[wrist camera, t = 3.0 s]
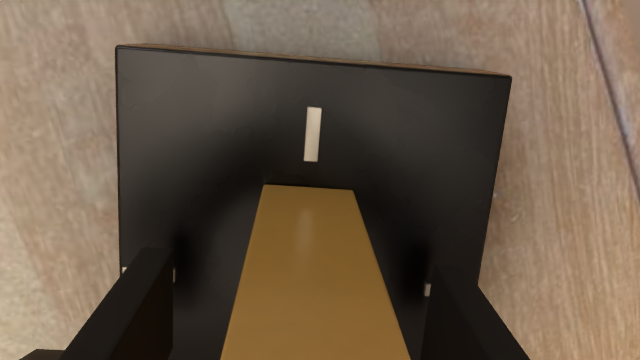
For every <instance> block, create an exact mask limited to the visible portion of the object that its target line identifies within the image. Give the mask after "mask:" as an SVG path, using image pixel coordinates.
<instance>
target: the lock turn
mask: <svg viewBox="0 0 640 360" xmlns="http://www.w3.org/2000/svg"><path fill="white" fill-rule="evenodd" d="M220 360H411V359H410V356H409V353H408V351H407V348H406V345H405V342H404V339H403V336H402V333H401V330H400V327H399V324H398V321H397V318H396V315H395V312H394V309H393V307H392V304H391V301H390V298H389V295H388V292H387V289H386V286H385V283H384V280H383V277H382V274H381V271H380V268H379V265H378V262H377V260H376V257H375V254H374V251H373V248H372V245H371V242H370V239H369V236H368V233H367V230H366V227H365V224H364V221H363V218H362V216H361V213H360V210H359V207H358V204H357V201H356V198H355V195H354V192H353V191H352V190H343V189H327V188H312V187H296V186H281V185H264V186H263V188H262V192H261V196H260V200H259V204H258V208H257V212H256V216H255V220H254V224H253V228H252V232H251V236H250V240H249V244H248V248H247V252H246V256H245V261H244V265H243V269H242V273H241V277H240V281H239V285H238V289H237V293H236V297H235V301H234V305H233V309H232V313H231V317H230V321H229V325H228V329H227V333H226V337H225V341H224V345H223V349H222V353H221V357H220Z"/></svg>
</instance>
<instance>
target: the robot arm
mask: <svg viewBox="0 0 640 360" xmlns="http://www.w3.org/2000/svg"><path fill="white" fill-rule="evenodd" d="M173 260H174V249H165V248H147V247H142V248H141V249H140V251H139V252H138V253H137V255H136V256H135V257H134V259H133V260H132V261H131V263H130V264H129V265H128V267H127V268H126V269H125V271H124V272H123V273H122V275H121V276H120V278H119V279H118V280H117V282H116V283H115V284H114V286H113V287H112V288H111V290H110V291H109V292H108V294H107V295H106V296H105V298H104V299H103V300H102V302H101V303H100V304H99V306H98V307H97V308H96V310H95V311H94V312H93V314H92V315H91V316H90V318H89V319H88V320H87V322H86V323H85V324H84V326H83V327H82V328H81V330H80V331H79V332H78V334H77V335H76V336H75V338H74V339H73V340H72V342H71V343H70V344H69V346H68V347H67V348H66V350H45V349H36V350H34V351H32V352H31V353H29V354H28V355H26V356H24V357H23V358H21V359H20V360H168V358H169V356H170V353H171V351H172V348H173ZM420 360H530V359H529V357H528V356H527V355H526V353H525V352H524V350H523V349H522V348H521V346H520V345H519V343H518V342H517V341H516V339H515V338H514V336H513V335H512V334H511V332H510V331H509V329H508V328H507V326H506V325H505V324H504V322H503V321H502V319H501V318H500V317H499V315H498V314H497V312H496V311H495V310H494V308H493V307H492V305H491V304H490V303H489V301H488V300H487V298H486V297H485V295H484V294H483V293H482V291H481V290H480V288H479V287H478V286H477V284H476V283H475V281H474V280H473V279H472V277H471V276H470V274H469V273H468V272H467V270H466V269H465V267H464V266H460V265H443V264H434V266H433V273H432V280H431V287H430V294H429V301H428V308H427V315H426V322H425V328H424V335H423V342H422V349H421V356H420Z"/></svg>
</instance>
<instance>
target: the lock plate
mask: <svg viewBox="0 0 640 360" xmlns="http://www.w3.org/2000/svg"><path fill="white" fill-rule="evenodd" d="M115 79H116V126H117V172H118V219H119V265H120V276H121V275H122V273H123V272H124V271H125V269H126V268H127V267H128V265H129V264H130V263H131V261H132V260H133V259H134V257H135V256H136V255H137V253H138V252H139V251H140V249H141V248H142V247H147V248H165V249H174V260H173V348H172V351H171V353H170V356H169V358H168V360H220V357H221V353H222V349H223V345H224V341H225V337H226V333H227V329H228V325H229V321H230V317H231V313H232V309H233V305H234V301H235V297H236V293H237V289H238V285H239V281H240V277H241V273H242V269H243V265H244V261H245V256H246V252H247V248H248V244H249V240H250V236H251V232H252V228H253V224H254V220H255V216H256V212H257V208H258V204H259V200H260V196H261V192H262V188H263V186H264V185H281V186H296V187H312V188H327V189H343V190H352V191H353V192H354V195H355V198H356V201H357V204H358V207H359V210H360V213H361V216H362V218H363V221H364V224H365V227H366V230H367V233H368V236H369V239H370V242H371V245H372V248H373V251H374V254H375V257H376V260H377V262H378V265H379V268H380V271H381V274H382V277H383V280H384V283H385V286H386V289H387V292H388V295H389V298H390V301H391V304H392V307H393V309H394V312H395V315H396V318H397V321H398V324H399V327H400V330H401V333H402V336H403V339H404V342H405V345H406V348H407V351H408V353H409V356H410V359H411V360H420V356H421V349H422V342H423V335H424V328H425V322H426V315H427V308H428V301H429V294H430V287H431V280H432V273H433V266H434V264H443V265H460V266H464V267H465V269H466V270H467V272H468V273H469V274H470V276H471V277H472V279H473V280H474V281H475V283H476V284H477V285H478V279H479V273H480V267H481V262H482V256H483V250H484V244H485V238H486V232H487V226H488V220H489V214H490V208H491V202H492V196H493V190H494V184H495V178H496V172H497V166H498V160H499V154H500V148H501V143H502V137H503V131H504V125H505V119H506V113H507V107H508V101H509V95H510V89H511V83H512V77H511V76H510V75H506V74H500V73H495V72H490V71H484V70H478V69H465V68H453V67H440V66H427V65H414V64H401V63H389V62H376V61H363V60H350V59H337V58H324V57H312V56H299V55H286V54H273V53H260V52H248V51H235V50H222V49H209V48H196V47H184V46H171V45H158V44H125V45H117V46H116V47H115Z"/></svg>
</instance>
